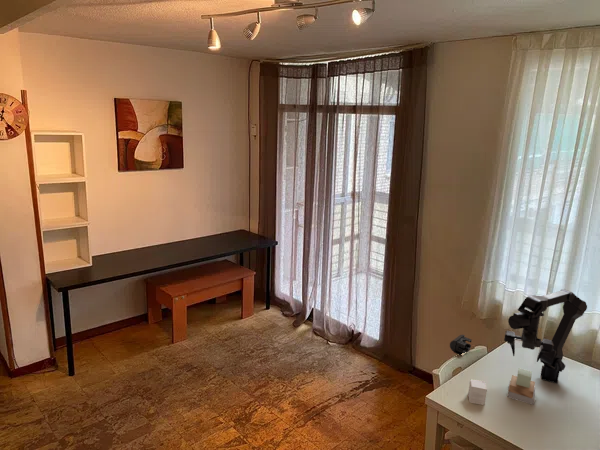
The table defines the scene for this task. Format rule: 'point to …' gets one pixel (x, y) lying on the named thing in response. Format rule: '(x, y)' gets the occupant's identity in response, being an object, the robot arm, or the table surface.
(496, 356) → the table surface
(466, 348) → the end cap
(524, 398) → the bottom slab
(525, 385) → the green cube
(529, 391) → the top slab
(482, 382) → the product box
